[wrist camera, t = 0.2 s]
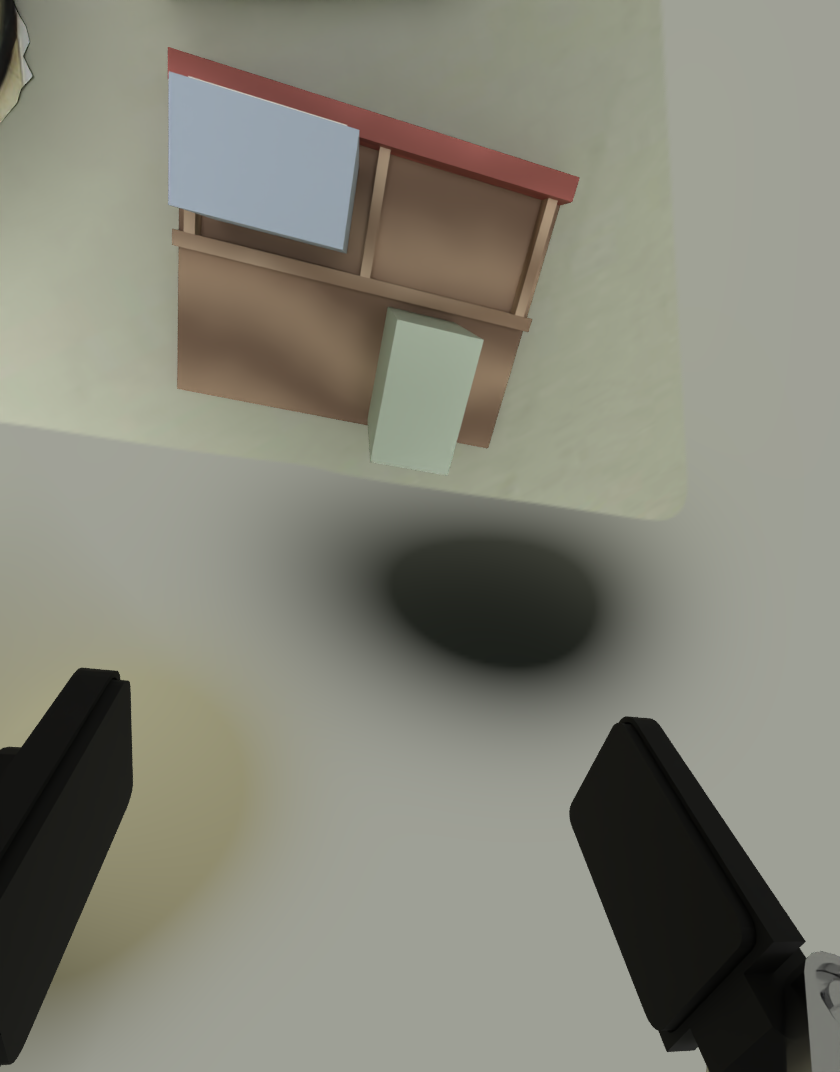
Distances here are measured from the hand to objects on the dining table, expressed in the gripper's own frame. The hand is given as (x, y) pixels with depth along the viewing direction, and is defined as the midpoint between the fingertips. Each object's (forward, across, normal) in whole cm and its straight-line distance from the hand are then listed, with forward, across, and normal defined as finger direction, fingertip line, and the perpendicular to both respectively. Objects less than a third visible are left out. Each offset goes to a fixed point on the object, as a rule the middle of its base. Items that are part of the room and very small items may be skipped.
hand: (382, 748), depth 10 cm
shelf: (+30, +1, -7) cm, 31 cm away
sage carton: (+29, -3, -3) cm, 29 cm away
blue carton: (+29, +6, -11) cm, 32 cm away
